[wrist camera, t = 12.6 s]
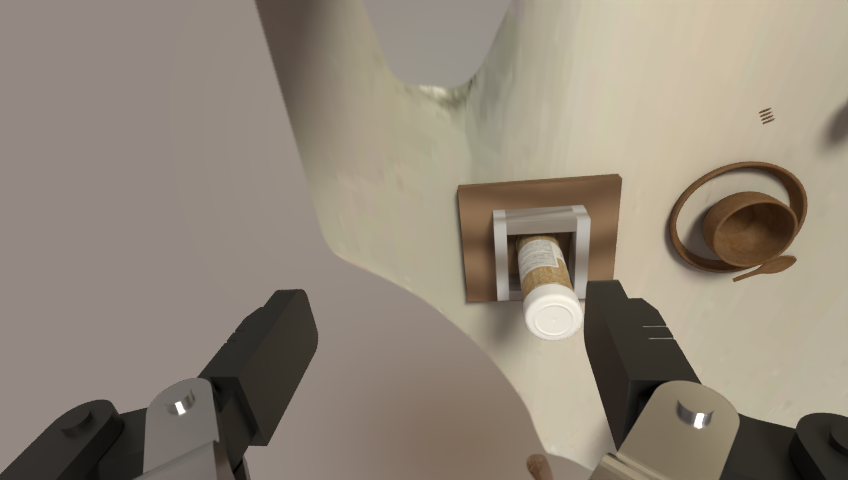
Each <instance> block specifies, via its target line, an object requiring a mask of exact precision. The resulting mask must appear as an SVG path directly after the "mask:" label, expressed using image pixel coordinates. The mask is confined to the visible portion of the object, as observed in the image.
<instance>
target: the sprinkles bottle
mask: <svg viewBox="0 0 848 480" xmlns="http://www.w3.org/2000/svg"><path fill="white" fill-rule="evenodd" d="M515 245H516V251H517V254H518V266H519V273H520V281H521V289H522V292H523V298H524V302H523V315H524V320H525V324H526V326H527V328H528V330H529V331H530V332H531V333H532V334H533V335H535V336H536V337H538V338H541V339H544V340H549V341H557V340H562V339H565V338H568V337H570V336H572V335H573V334H574V333H575V332H576V331H577V330H578V329H579V328H580V326H581V324H582V320H583V313H582V309H581V305H580V302H579V300H578V297H577V296H576V294H575V293H574V291H573V289H572V285H571V282H570V278H569V274H568V270H567V267H566V264H565V261H564V258H563V255H562V252H561V250H560V248H559V242H558V238H557V236H556V234H555V233H535V234H519V236H518V237H517V240H516V243H515Z"/></svg>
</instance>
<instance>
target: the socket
mask: <svg viewBox="0 0 848 480" xmlns="http://www.w3.org/2000/svg"><path fill="white" fill-rule="evenodd" d="M621 186H622V178H621V177H620V176H619V175H618V174H610V175H596V176H582V177H568V178H554V179H540V180H526V181H512V182H498V183H484V184H470V185H459V186H458V198H459V209H460V220H461V231H462V242H463V253H464V264H465V275H466V286H467V297H468V302H480V301H519V300H524V298H523V292H522V289H521V281H520V273H519V266H518V254H517V251H516V245H515V243H516V240H517V237H518V236H519V234H535V233H555V234H556V236H557V238H558V242H559V248H560V250H561V252H562V255H563V258H564V261H565V264H566V267H567V270H568V274H569V278H570V282H571V285H572V289H573V291H574V293H575V294H576V296H577V297H578V299H585V297H586V285H587V282H588V281H594V280H613V274H614V263H615V252H616V241H617V230H618V219H619V208H620V197H621Z"/></svg>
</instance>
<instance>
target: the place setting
mask: <svg viewBox="0 0 848 480" xmlns="http://www.w3.org/2000/svg"><path fill="white" fill-rule="evenodd" d="M769 109H771V108H769ZM769 109H766V110H763V111H761V112H759V113H762V112H765V111H767V110H769ZM769 113H771V112H769ZM769 113H766V114H763V115H761V116H760V117H762V116H765V115H767V114H769ZM772 116H773V115H772ZM772 116H768V117H766V118H763V119H762V120H765V119H767V118H770V117H772ZM762 120H761V121H762ZM772 120H774V119H771V120H768V121H766V122H764V123H763V124H765V123H767V122H770V121H772ZM737 168H756V169H761V170H764V171H767V172H769V173H772V174H773V175H775V176H776V177H778V178H779V179H780V180H781V181H782V182H783V184H784V185H785V186H786V188H787V190H788V193H789V197H790V208H789V207H788V206H787V205H785V204H783V203H782V202H780V201H778V200H777V199H775V198H773V197H771V196H769V195H766V194H763V193H759V192H740V193H736V194H732V195H730V196H727V197H725V198H724V199H722V200H720V201H719V202H718V203H716V204H715V205H714V206H713V207H712V208H711V209H710V210H709V212H708V213H707V215H706V217H705V219H704V222H703V227H702V232H703V237H704V239H705V241H706V243H707V245H708V246H709V247H710V249H711V250H712V251H713V252H714V253H715V254H716V255H717V256H718V257H719V258H720V259H721V260H720V261H718V260H708V259H704V258H700V257H698V256H696V255H694V254H692V253H691V252H689V251H688V250H687V249H686V248H685V247H684V246H683V245H682V243H681V242H680V240H679V238H678V235H677V230H676V220H677V217H678V214H679V212H680V210H681V208H682V206H683V204H684V203H685V201H686V200H687V199H688V197H689V196H690V195H691V194H692V193H693V192H694V191H695V190H696V189H697V188H698V187H700V186H701V185H702V184H703V183H705V182H706V181H708V180H709V179H711V178H713V177H715V176H717V175H719V174H721V173H724V172H726V171H729V170H732V169H737ZM806 213H807V196H806V192H805V190H804V187H803V185H802V184H801V182H800V181H799V180H798V179H797V178H796V177H795V176H794V175H793V174H792V173H790V172H789V171H787V170H786V169H783V168H781V167H779V166H776V165H773V164H769V163H764V162H739V163H734V164H730V165H726V166H723V167H720V168H718V169H716V170H713V171H711V172H709V173H708V174H706V175H704V176H703V177H701V178H700V179H698V180H697V181H696V182H695V183H693V184H692V185H691V186H690V187H689V188H688V189H687V190H686V191H685V192H684V193H683V195H682V196H681V197H680V199H679V200H678V202H677V204H676V206H675V208H674V210H673V213H672V216H671V221H670V234H671V239H672V242H673V245H674V247H675V248H676V250H677V252H678V253H679V254H680V255H681V257H682V258H683V259H684V260H686V261H687V262H688V263H690V264H691V265H693V266H695V267H697V268H699V269H702V270H706V271H711V272H722V273H724V272H735V271H741V270H745V269H749V268H752V267H755V266H757V265H761V264H763V265H762V266H761V267H759V268H758V269H757V270H754V271H752V272H749V273H746V274H744V275H741V276H738V277H736V278H733V281H734V282H736V281H739V280H742V279H744V278H747V277H750V276H753V275H757V274H760V273H777V272H781V271H783V270H785V269H787V268H789V267H790V266H792V265H793V264H794V263H795V262H796V260H797V259H796V257H794V256H779V255H780V254H782V253H783V252H784V251H785V250H786V249H787V248H788V247H789V246H790V244H791V243H792V241H793V240H794V238H795V237H796V235H797V234H798V232H799V231H800V229H801V227H802V225H803V223H804V220H805V217H806ZM778 256H779V257H778Z"/></svg>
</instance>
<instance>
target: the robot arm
mask: <svg viewBox="0 0 848 480" xmlns="http://www.w3.org/2000/svg"><path fill="white" fill-rule="evenodd" d="M584 341H585V347H586V351H587V355H588V358H589V361H590V364H591V368H592V371H593V374H594V377H595V381H596V384H597V387H598V391H599V394H600V397H601V400H602V404H603V407H604V410H605V413H606V417H607V420H608V423H609V427H610V430H611V433H612V436H613V440H614V443H615V446H616V449H617V453H616V454H615V455H613V454H611V453H607V454H606V455H605V456H604V457H603V458H602V459H601V461H600V462H599V463H598V465H597V467H596V468H595V470H594V471H593V473H592V475H591V476H590V478H589V480H848V417H845V416H842V415H837V414H831V413H813V414H809V415H806V416H804V417H802V418H801V419H800V420H799V422H798V424H797V426H796V429H794V428H790V427H786V426H782V425H778V424H773V423H769V422H765V421H761V420H757V419H754V418H750V417H747V416H744V415H742V414H739V413H737V411H736V409H735V408H734V406H733V405H732V404H731V403H730V402H729V401H728V400H727V399H726V398H725V397H724V396H722V395H721V394H720V393H718V392H716V391H715V390H713V389H711V388H709V387H707V386H704V385H702V384H701V382H700V381H699V379H698V377H697V376H696V374H695V372H694V370H693V369H692V367H691V365H690V364H689V362H688V360H687V359H686V357H685V355H684V354H683V352H682V350H681V349H680V347H679V345H678V344H677V342H676V340H674V339H673V335H672V334H671V332H670V330H669V328H667V327H666V323H665V322H664V320H663V318H662V317H661V315H660V313H659V312H658V310H657V309H655V308H654V307H653V306H651V305H650V304H649V303H647V302H646V301H645V300H643V299H642V298H631V299H628V297H627V295H626V293H625V291H624V289H623V287H622V285H621V283H620V282H619V281H618V280H594V281H588V282H587V285H586V297H585V314H584ZM317 344H318V332H317V328H316V324H315V321H314V317H313V314H312V311H311V307H310V304H309V300H308V297H307V294H306V292H305V291H304V290H302V289H294V290H277V291H276V292H275V293H274V294H273V295H272V296H271V298H270V299H269V300H268V302H267V303H266V304H265V305H264V307H260V308H258V309H257V310H256V311H254V312H253V313H251V314H250V315H249V316H247V317H246V318H245V319H244V320H243V321H242V323H241V324H240V325H239V326H238V328H237V329H236V330H235V333H233V334H232V335H231V336H230V337H229V339H228V340H227V343H225V344H224V345H223V346H222V347H221V349H220V350H219V351H218V352H217V354H216V355H215V356H214V357H213V358H212V360H211V361H210V362H209V363H208V365H207V366H206V367H205V368H204V370H203V371H202V372H201V373H200V375H199V376H198V377H197V378H191V379H187V380H183V381H180V382H178V383H176V384H174V385H172V386H170V387H168V388H167V389H165V390H164V391H162V392H161V393H160V394H159V395H158V396H157V397H156V398H155V399H154V400H153V401H152V402H151V404H150V405H149V407H148V408H143V409H139V410H135V411H132V412H127V413H123V414H118V412H117V410H116V409H115V407H114V406H113V404H112V403H111V402H110V401H108V400H95V401H91V402H87V403H84V404H82V405H79V406H77V407H75V408H73V409H71V410H70V411H68V412H66V413H65V414H63V415H62V416H61V417H59V418H58V419H56V420H55V421H54V422H53V423H52V424H51V425H50V426H49V427H48V428H47V429H46V430H45V431H44V432H43V433H42V434H41V435H40V436H39V437H38V438H37V439H36V440H35V441H34V442H33V443H31V445H30V446H29V447H27V448H26V449H25V450H24V451H23V452H22V453H21V454H20V455H19V456H18V457H17V458H16V459H15V460H14V461H13V462H12V463H11V464H10V465H9V466H8V467H7V468H6V469H5V470H4V471H3V472H2V473H1V474H0V480H250V475H249V470H248V466H247V462H246V459H245V457H244V453H245V451H246V450H247V448H248V446H249V445H250V446H267V445H268V443H269V441H270V439H271V437H272V435H273V434H274V431H275V430H276V428H277V426H278V424H279V422H280V420H281V418H282V416H283V414H284V412H285V410H286V408H287V406H288V404H289V402H290V400H291V398H292V396H293V395H294V392H295V391H296V389H297V387H298V385H299V383H300V381H301V379H302V377H303V375H304V373H305V371H306V369H307V367H308V365H309V363H310V361H311V359H312V358H313V356H314V353H315V352H316V349H317Z"/></svg>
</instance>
